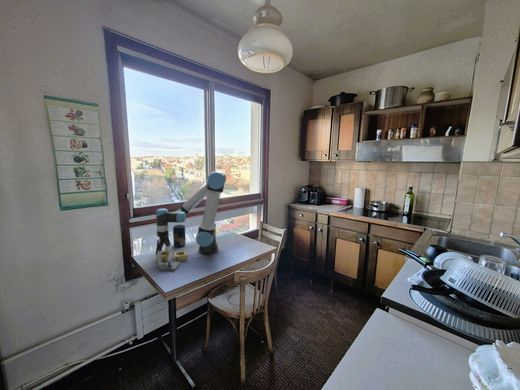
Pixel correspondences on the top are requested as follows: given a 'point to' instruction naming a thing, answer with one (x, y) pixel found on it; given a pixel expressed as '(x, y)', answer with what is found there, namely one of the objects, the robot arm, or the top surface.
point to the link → (165, 255)
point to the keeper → (166, 263)
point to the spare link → (180, 256)
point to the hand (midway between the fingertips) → (163, 258)
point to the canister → (179, 235)
